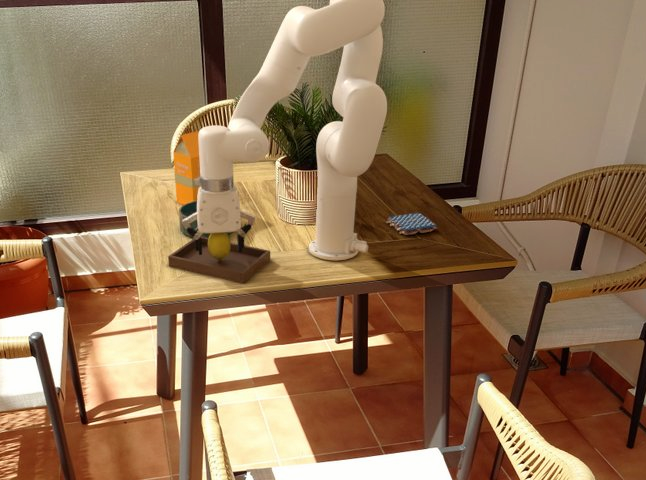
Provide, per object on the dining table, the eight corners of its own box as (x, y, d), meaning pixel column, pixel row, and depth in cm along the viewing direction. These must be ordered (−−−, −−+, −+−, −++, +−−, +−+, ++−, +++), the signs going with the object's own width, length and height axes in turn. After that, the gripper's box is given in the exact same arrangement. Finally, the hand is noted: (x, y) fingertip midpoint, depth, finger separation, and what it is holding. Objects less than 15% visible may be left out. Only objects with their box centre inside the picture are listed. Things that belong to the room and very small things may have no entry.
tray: (270, 260, 180) (270, 250, 179) (243, 283, 170) (243, 273, 168) (198, 244, 188) (198, 235, 186) (168, 266, 177) (167, 256, 176)
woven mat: (418, 217, 205) (419, 210, 203) (437, 231, 196) (438, 224, 195) (385, 222, 202) (385, 215, 200) (403, 236, 193) (404, 229, 192)
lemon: (227, 266, 176) (226, 234, 171) (205, 263, 177) (204, 232, 172) (233, 256, 180) (232, 226, 176) (211, 254, 181) (210, 224, 177)
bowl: (244, 224, 199) (244, 205, 196) (217, 244, 188) (216, 224, 185) (198, 215, 205) (197, 196, 202) (169, 233, 194) (168, 214, 191)
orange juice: (216, 200, 214) (213, 131, 203) (193, 208, 209) (189, 138, 198) (198, 194, 219) (195, 126, 207) (176, 201, 213) (171, 132, 202)
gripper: (180, 190, 163) (185, 260, 173) (256, 186, 166) (257, 255, 175) (178, 179, 170) (183, 247, 179) (252, 175, 172) (253, 243, 181)
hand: (220, 251), depth 177 cm, fingers open, 9 cm apart
